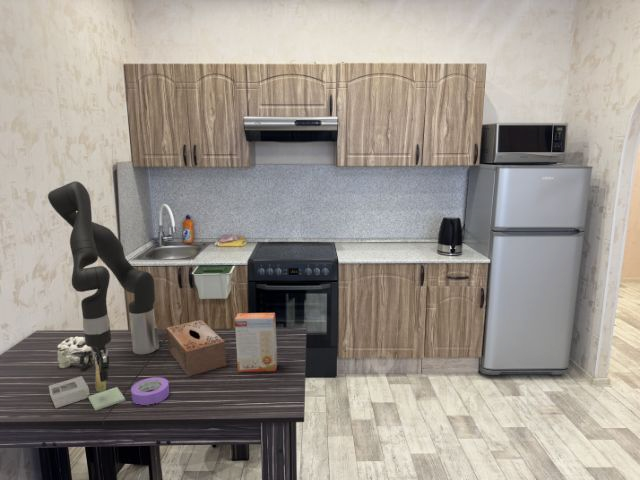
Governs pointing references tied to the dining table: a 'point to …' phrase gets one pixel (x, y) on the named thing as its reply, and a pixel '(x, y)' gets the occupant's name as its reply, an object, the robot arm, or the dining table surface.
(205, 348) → the tissue box cover
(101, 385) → the knob
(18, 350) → the dining table surface
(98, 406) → the pad
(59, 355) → the valve
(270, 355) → the cracker box
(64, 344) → the tangled rod sculpture
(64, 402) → the block
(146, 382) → the masking tape
